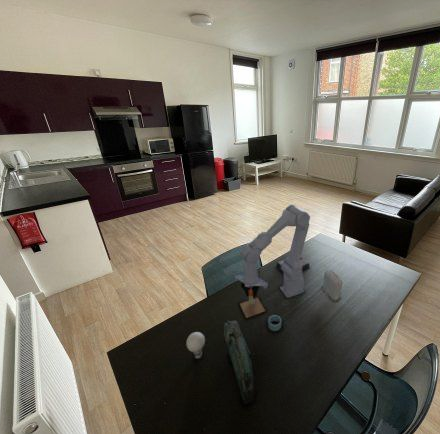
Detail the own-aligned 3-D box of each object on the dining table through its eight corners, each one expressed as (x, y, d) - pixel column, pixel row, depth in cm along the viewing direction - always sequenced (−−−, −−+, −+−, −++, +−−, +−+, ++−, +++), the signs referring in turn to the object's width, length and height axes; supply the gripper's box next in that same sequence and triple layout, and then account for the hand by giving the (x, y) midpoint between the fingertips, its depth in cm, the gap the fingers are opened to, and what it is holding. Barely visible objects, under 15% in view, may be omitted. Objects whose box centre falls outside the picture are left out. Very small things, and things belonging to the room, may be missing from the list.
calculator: (309, 262, 132) (289, 271, 124) (309, 269, 134) (288, 278, 126) (297, 253, 140) (276, 261, 132) (296, 259, 142) (276, 267, 134)
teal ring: (277, 318, 103) (277, 313, 101) (283, 328, 98) (283, 323, 97) (266, 322, 101) (266, 317, 99) (271, 333, 96) (271, 327, 95)
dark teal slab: (225, 352, 88) (220, 313, 80) (242, 346, 91) (239, 307, 82) (240, 409, 72) (236, 368, 63) (260, 400, 74) (259, 359, 66)
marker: (253, 299, 108) (253, 288, 105) (255, 303, 106) (255, 292, 103) (248, 301, 107) (247, 290, 104) (250, 305, 105) (249, 294, 102)
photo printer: (340, 298, 113) (344, 278, 108) (333, 301, 111) (336, 280, 106) (328, 285, 121) (331, 265, 116) (321, 287, 120) (323, 267, 115)
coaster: (257, 297, 113) (257, 297, 113) (265, 311, 106) (265, 310, 106) (239, 304, 110) (239, 303, 110) (246, 318, 102) (246, 317, 102)
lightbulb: (198, 368, 83) (193, 347, 78) (185, 358, 86) (180, 338, 81) (211, 353, 88) (207, 333, 83) (199, 345, 91) (195, 325, 86)
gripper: (230, 273, 98) (232, 297, 104) (262, 281, 93) (263, 307, 99) (238, 263, 104) (240, 287, 110) (269, 271, 99) (269, 295, 105)
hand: (251, 296), depth 105 cm, fingers closed on marker, 3 cm apart
